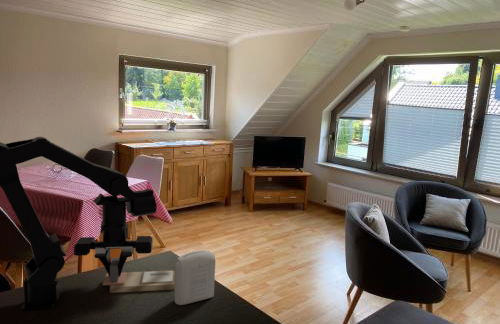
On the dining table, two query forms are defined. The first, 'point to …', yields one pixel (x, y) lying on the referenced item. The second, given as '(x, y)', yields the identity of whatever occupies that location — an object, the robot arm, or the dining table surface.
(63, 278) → the dining table surface
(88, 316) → the dining table surface
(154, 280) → the ticket board
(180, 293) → the photo printer
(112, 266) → the stub
